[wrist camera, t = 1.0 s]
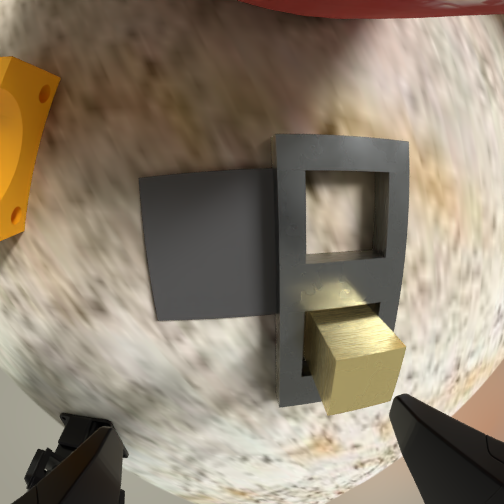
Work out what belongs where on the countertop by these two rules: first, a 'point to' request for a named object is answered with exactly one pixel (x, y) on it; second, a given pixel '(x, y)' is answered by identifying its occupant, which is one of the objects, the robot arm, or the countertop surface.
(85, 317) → the countertop surface
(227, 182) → the mat
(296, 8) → the mixing bowl
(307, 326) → the pale yellow block
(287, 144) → the gray slotted plate
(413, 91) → the countertop surface
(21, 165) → the pipe clamp
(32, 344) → the countertop surface
